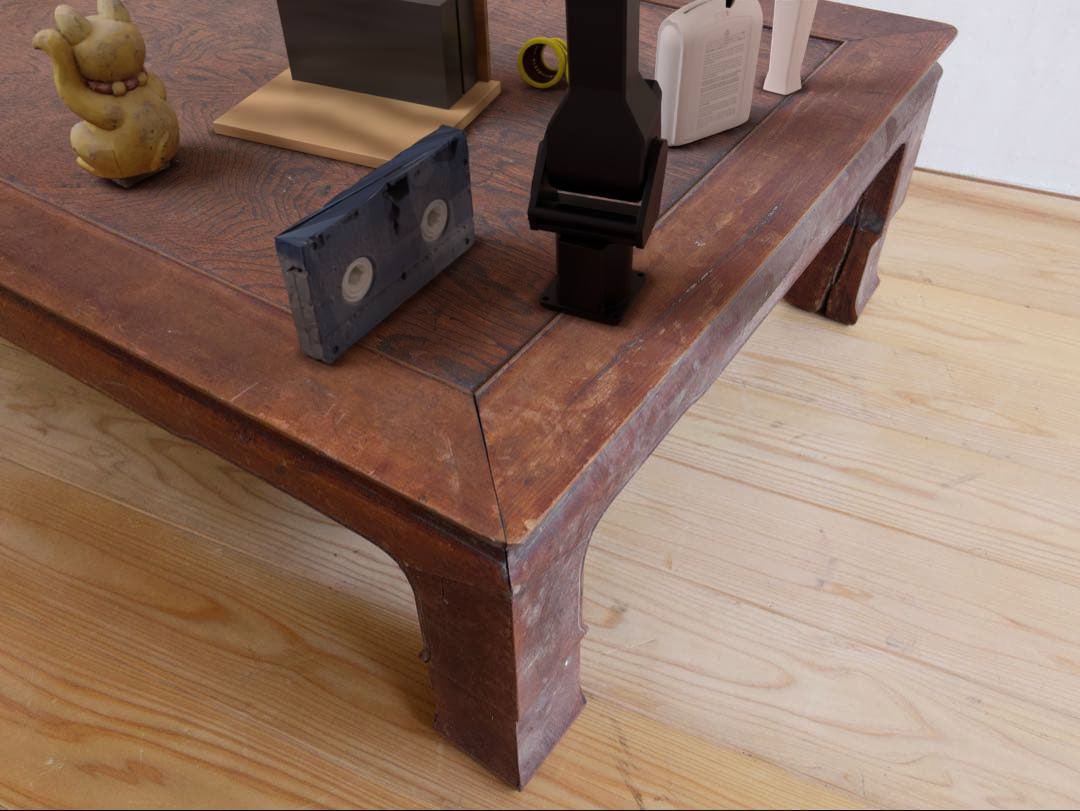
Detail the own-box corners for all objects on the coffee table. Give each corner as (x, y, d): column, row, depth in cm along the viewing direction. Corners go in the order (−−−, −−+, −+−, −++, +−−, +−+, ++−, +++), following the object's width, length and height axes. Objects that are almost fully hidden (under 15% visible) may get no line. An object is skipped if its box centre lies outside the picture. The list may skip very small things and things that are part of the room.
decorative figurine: (148, 136, 94) (97, -25, 84) (213, 155, 91) (169, -9, 81) (70, 182, 88) (5, 15, 78) (137, 204, 85) (79, 34, 75)
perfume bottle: (811, 82, 100) (839, -74, 90) (794, 99, 97) (821, -60, 87) (769, 72, 102) (792, -82, 92) (751, 88, 99) (773, -69, 89)
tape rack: (415, 177, 88) (401, 55, 80) (215, 133, 94) (184, 17, 87) (501, 92, 100) (495, -21, 92) (317, 58, 106) (298, -50, 99)
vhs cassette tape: (453, 232, 81) (442, 121, 74) (481, 243, 80) (473, 131, 73) (295, 353, 70) (266, 235, 63) (326, 368, 69) (299, 249, 62)
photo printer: (725, 106, 97) (741, -23, 88) (755, 123, 94) (774, -8, 86) (643, 135, 93) (651, 3, 84) (672, 153, 90) (683, 19, 82)
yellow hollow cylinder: (621, 96, 100) (627, 45, 98) (596, 106, 97) (602, 54, 94) (541, 75, 104) (545, 26, 101) (514, 84, 100) (517, 34, 98)
